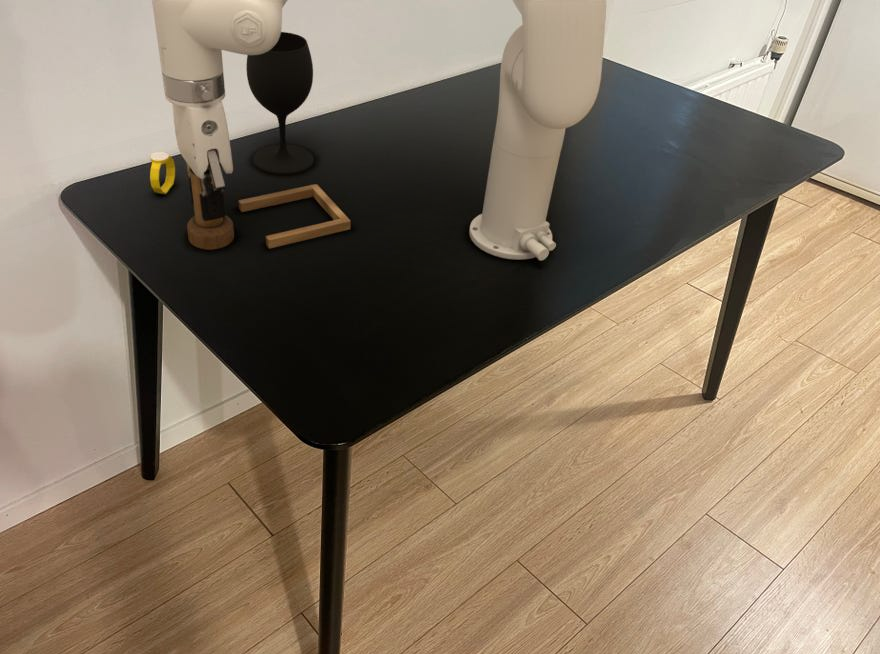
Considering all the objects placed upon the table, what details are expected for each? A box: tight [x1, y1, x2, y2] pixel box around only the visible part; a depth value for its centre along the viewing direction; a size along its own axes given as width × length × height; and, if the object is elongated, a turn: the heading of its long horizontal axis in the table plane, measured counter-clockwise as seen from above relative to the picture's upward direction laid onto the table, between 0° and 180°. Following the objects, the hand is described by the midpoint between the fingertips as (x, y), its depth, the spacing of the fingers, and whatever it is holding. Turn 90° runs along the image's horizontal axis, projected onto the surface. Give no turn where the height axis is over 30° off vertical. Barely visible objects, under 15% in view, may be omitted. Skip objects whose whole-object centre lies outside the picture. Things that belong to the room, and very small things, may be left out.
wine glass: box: [245, 31, 315, 176], centre depth 126 cm, size 10×10×20 cm
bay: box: [238, 183, 352, 249], centre depth 119 cm, size 12×13×2 cm
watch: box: [149, 151, 176, 195], centre depth 121 cm, size 6×3×6 cm, turn 169°
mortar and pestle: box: [186, 168, 235, 251], centre depth 108 cm, size 7×6×18 cm
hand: (208, 209), depth 111 cm, fingers closed on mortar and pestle, 3 cm apart
